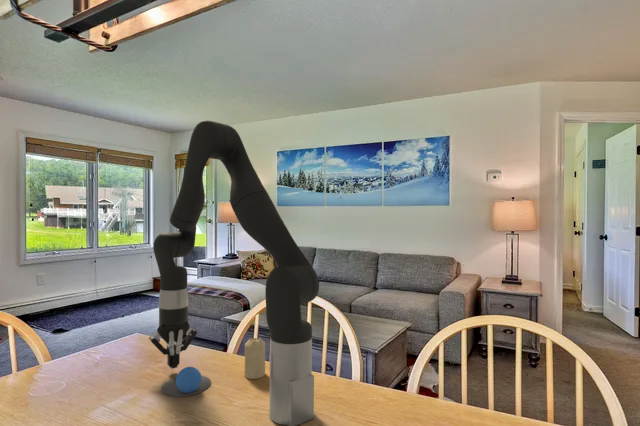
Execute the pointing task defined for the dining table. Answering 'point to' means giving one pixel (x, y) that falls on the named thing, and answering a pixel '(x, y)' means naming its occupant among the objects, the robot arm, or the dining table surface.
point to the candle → (254, 358)
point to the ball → (188, 379)
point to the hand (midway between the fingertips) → (173, 367)
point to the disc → (172, 390)
